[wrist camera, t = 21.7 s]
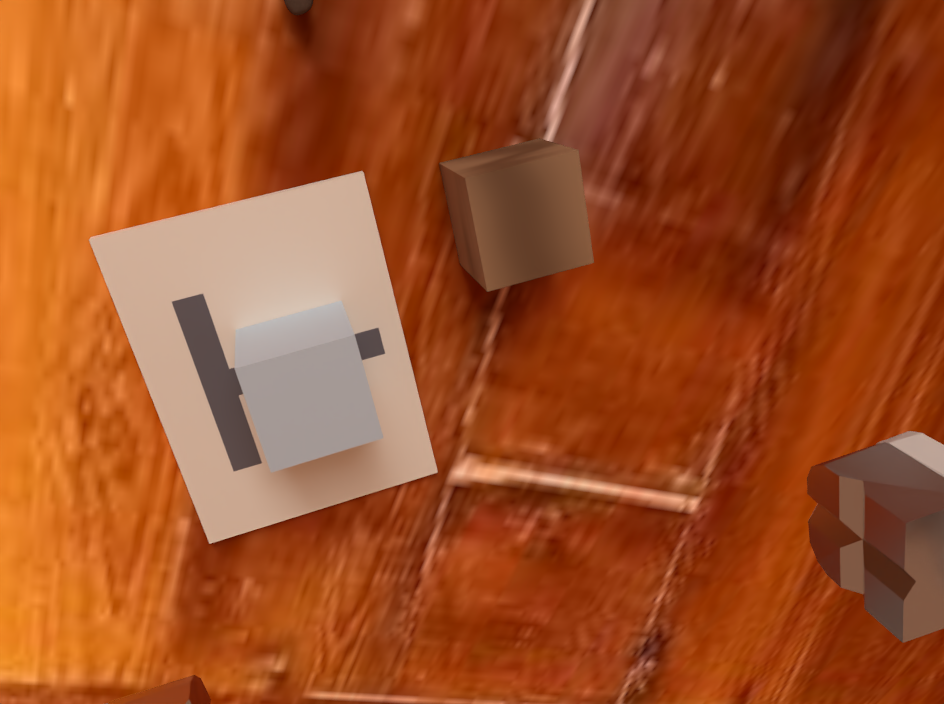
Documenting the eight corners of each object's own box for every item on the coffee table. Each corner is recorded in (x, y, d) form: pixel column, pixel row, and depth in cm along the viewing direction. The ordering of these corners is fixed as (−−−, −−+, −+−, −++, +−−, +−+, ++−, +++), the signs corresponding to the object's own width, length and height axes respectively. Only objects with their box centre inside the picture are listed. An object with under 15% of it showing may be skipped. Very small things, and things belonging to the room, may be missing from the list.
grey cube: (341, 300, 38) (354, 334, 33) (367, 394, 40) (383, 437, 35) (235, 329, 37) (234, 368, 32) (267, 423, 39) (270, 472, 34)
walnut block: (539, 138, 38) (578, 149, 34) (554, 238, 40) (593, 262, 36) (438, 162, 37) (465, 178, 33) (459, 264, 39) (487, 291, 35)
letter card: (362, 170, 36) (363, 172, 36) (435, 467, 43) (437, 472, 42) (90, 237, 34) (88, 239, 34) (209, 538, 41) (209, 543, 40)
